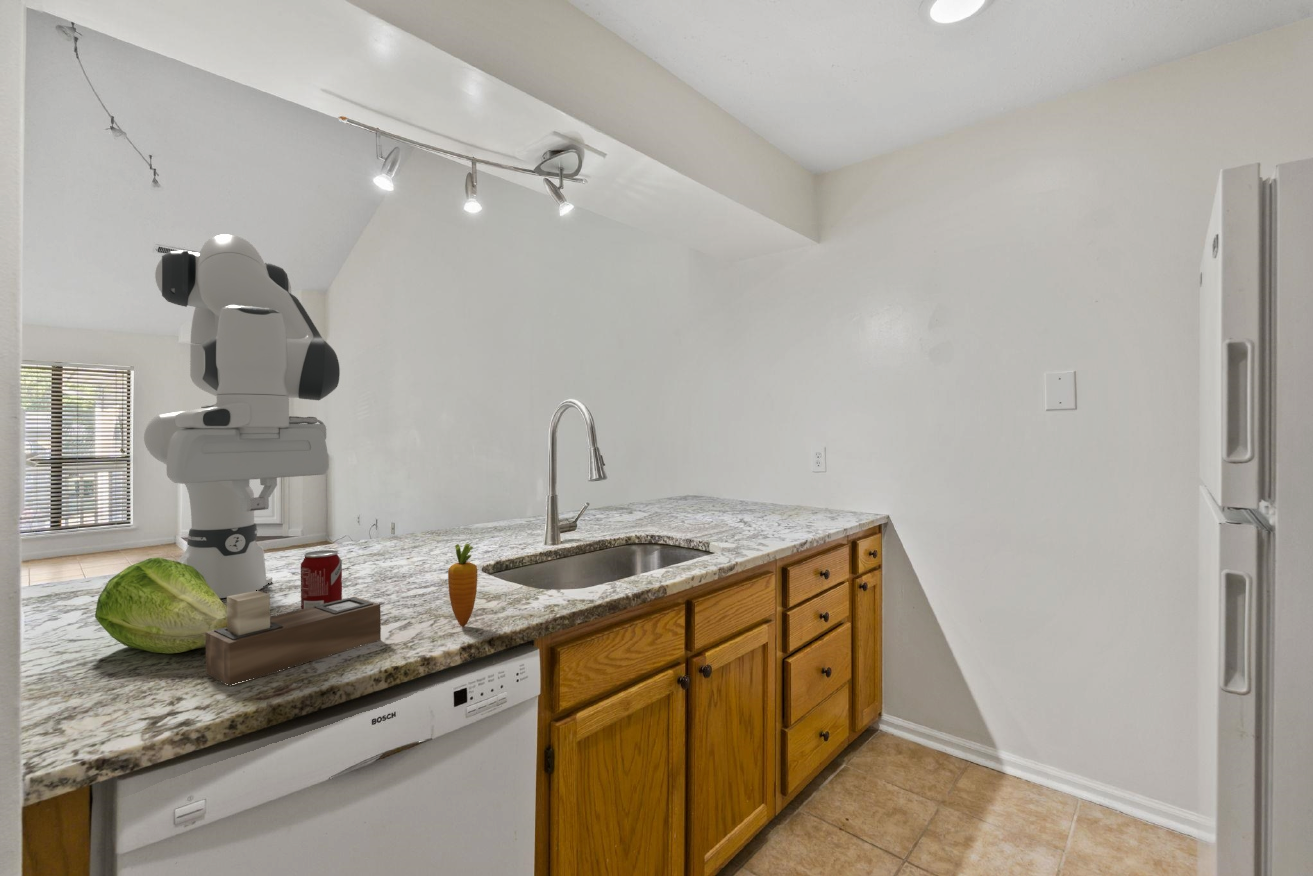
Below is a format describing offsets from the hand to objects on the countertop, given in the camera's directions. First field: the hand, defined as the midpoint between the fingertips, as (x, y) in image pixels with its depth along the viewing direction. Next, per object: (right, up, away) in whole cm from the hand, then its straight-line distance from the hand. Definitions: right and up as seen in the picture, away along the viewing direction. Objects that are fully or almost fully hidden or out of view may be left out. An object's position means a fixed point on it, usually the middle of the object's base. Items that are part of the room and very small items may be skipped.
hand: (255, 510), depth 89 cm
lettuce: (-17, -24, +8) cm, 30 cm away
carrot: (+24, -23, +19) cm, 39 cm away
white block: (+7, -23, +11) cm, 27 cm away
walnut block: (+3, -23, +5) cm, 24 cm away
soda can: (-4, -23, +25) cm, 34 cm away
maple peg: (-1, -18, 0) cm, 18 cm away
